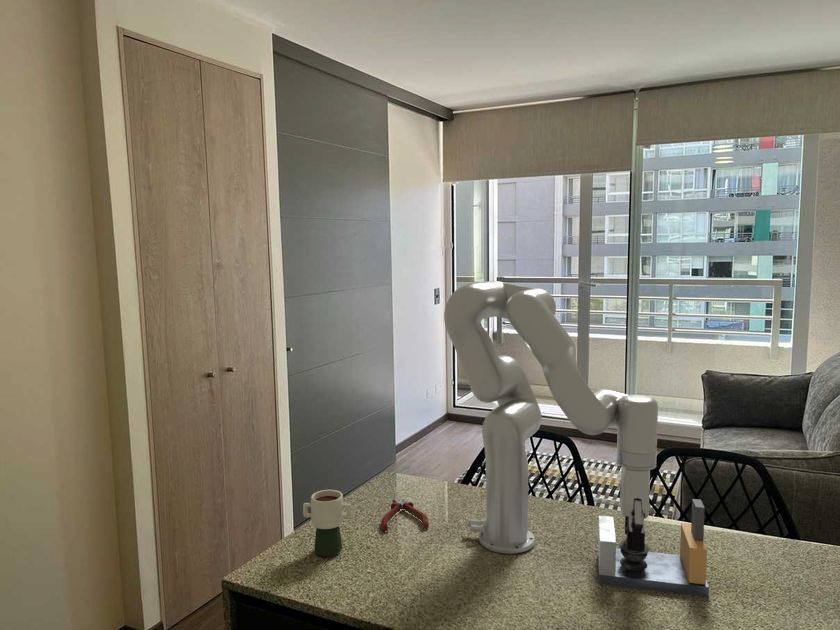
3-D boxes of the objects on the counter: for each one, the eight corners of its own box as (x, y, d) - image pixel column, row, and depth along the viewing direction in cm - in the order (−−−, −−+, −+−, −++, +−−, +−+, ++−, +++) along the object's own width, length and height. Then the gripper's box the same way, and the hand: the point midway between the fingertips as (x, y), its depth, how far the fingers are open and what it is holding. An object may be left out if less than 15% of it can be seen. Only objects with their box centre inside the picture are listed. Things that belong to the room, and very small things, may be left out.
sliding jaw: (688, 582, 118) (691, 513, 117) (680, 555, 129) (682, 491, 127) (705, 584, 117) (708, 515, 116) (695, 556, 128) (697, 493, 126)
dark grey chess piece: (632, 573, 122) (634, 515, 121) (612, 560, 127) (613, 504, 126) (655, 567, 124) (656, 510, 123) (634, 554, 130) (635, 499, 129)
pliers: (421, 498, 167) (420, 489, 166) (429, 532, 147) (429, 521, 146) (378, 501, 166) (378, 492, 165) (382, 535, 146) (381, 525, 145)
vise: (599, 584, 122) (600, 540, 121) (597, 555, 134) (598, 515, 133) (708, 597, 117) (710, 552, 116) (697, 566, 128) (698, 524, 128)
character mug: (355, 544, 140) (354, 489, 139) (349, 560, 133) (348, 502, 132) (308, 543, 141) (306, 489, 139) (300, 559, 134) (298, 501, 132)
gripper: (614, 442, 133) (613, 522, 135) (619, 470, 116) (617, 560, 118) (651, 445, 131) (649, 525, 133) (661, 473, 114) (658, 565, 116)
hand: (634, 541), depth 125 cm, fingers open, 6 cm apart
